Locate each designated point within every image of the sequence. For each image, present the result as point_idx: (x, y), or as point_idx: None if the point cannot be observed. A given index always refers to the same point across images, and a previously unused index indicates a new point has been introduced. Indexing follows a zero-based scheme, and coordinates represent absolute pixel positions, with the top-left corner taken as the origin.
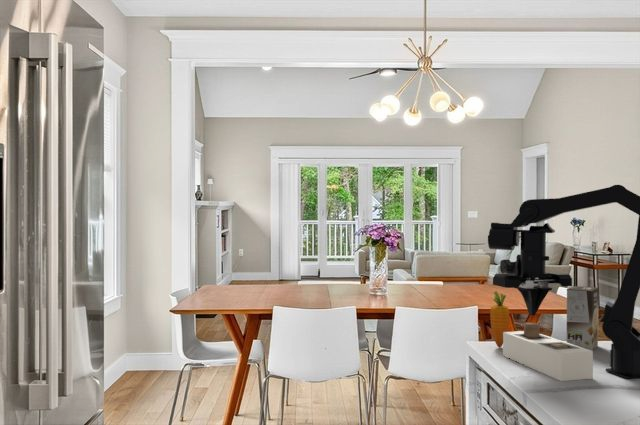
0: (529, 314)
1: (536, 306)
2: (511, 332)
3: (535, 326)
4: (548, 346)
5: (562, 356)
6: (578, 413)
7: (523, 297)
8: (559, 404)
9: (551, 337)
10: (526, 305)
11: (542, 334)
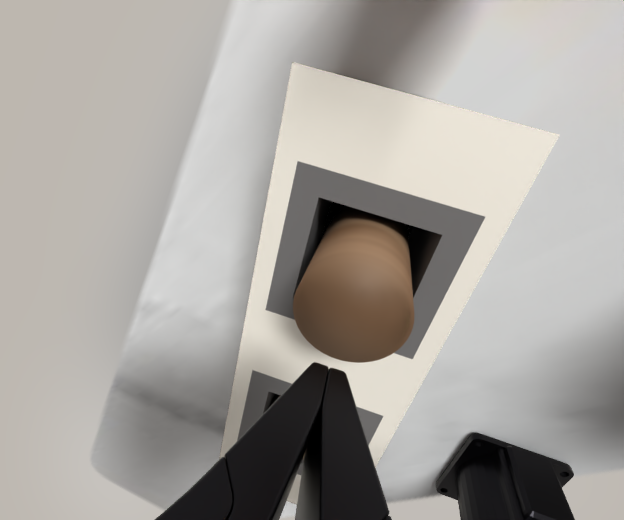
0: (309, 366)
1: (299, 511)
2: (340, 109)
3: (329, 352)
4: (251, 417)
5: None
6: (134, 478)
7: (167, 514)
8: (132, 448)
9: (439, 347)
10: (256, 424)
11: (481, 274)
